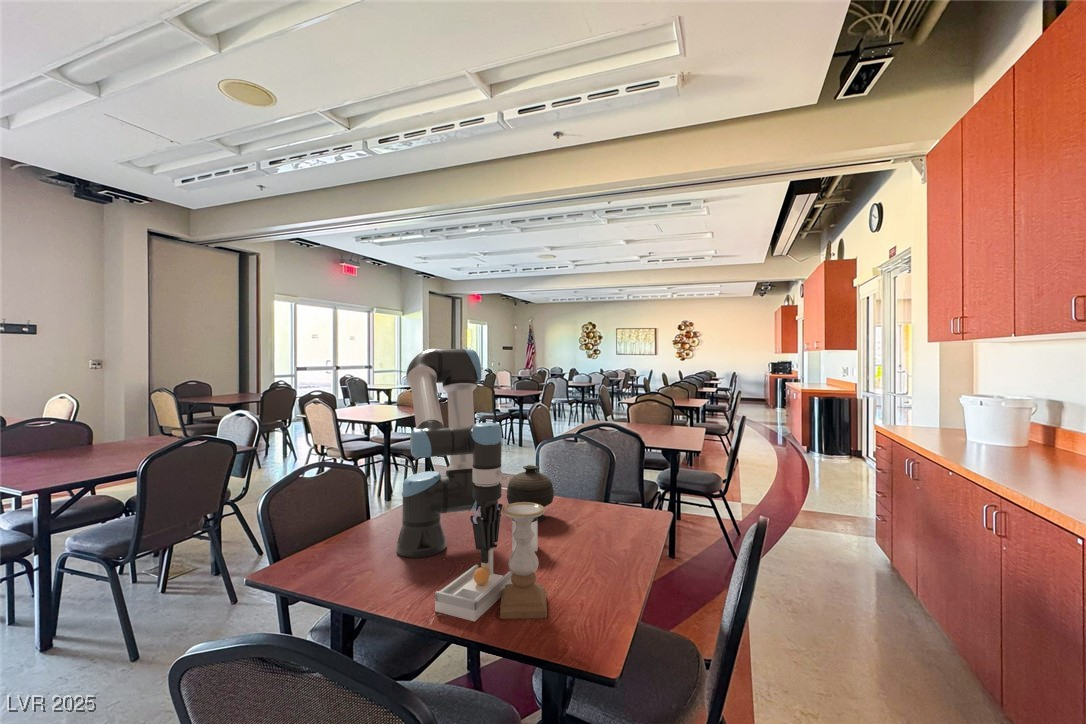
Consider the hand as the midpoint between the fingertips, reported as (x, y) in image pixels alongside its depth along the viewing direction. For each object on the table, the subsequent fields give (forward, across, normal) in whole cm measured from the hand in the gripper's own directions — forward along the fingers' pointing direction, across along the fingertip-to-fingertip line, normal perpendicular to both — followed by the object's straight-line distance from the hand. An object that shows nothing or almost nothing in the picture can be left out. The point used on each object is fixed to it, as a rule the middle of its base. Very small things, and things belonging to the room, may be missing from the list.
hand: (487, 573), depth 123 cm
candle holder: (+4, -4, -12) cm, 14 cm away
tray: (+4, -6, 0) cm, 7 cm away
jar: (+4, +28, +2) cm, 28 cm away
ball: (0, -3, 0) cm, 3 cm away
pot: (+4, +55, +13) cm, 56 cm away
